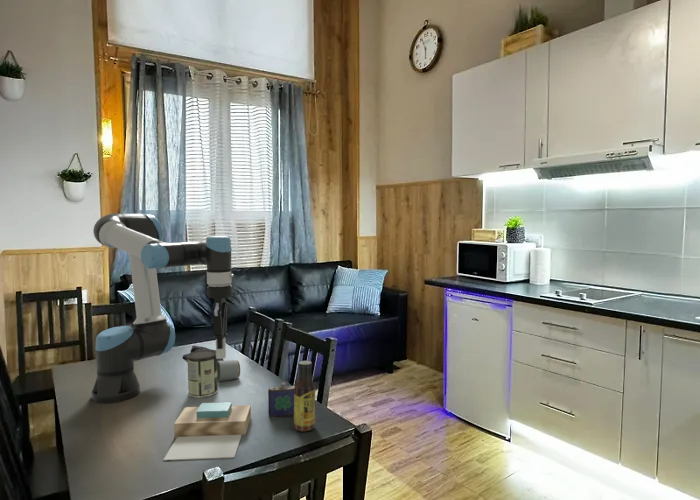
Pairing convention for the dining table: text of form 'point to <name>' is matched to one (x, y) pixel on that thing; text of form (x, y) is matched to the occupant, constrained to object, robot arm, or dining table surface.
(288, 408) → the flask
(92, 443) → the dining table surface
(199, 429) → the tan flat rectangular slab
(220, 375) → the ceramic mug
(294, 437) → the dining table surface
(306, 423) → the sauce bottle
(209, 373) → the coffee can
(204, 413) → the teal rectangular block
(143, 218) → the robot arm
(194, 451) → the mat
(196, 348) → the dark slate chunk
